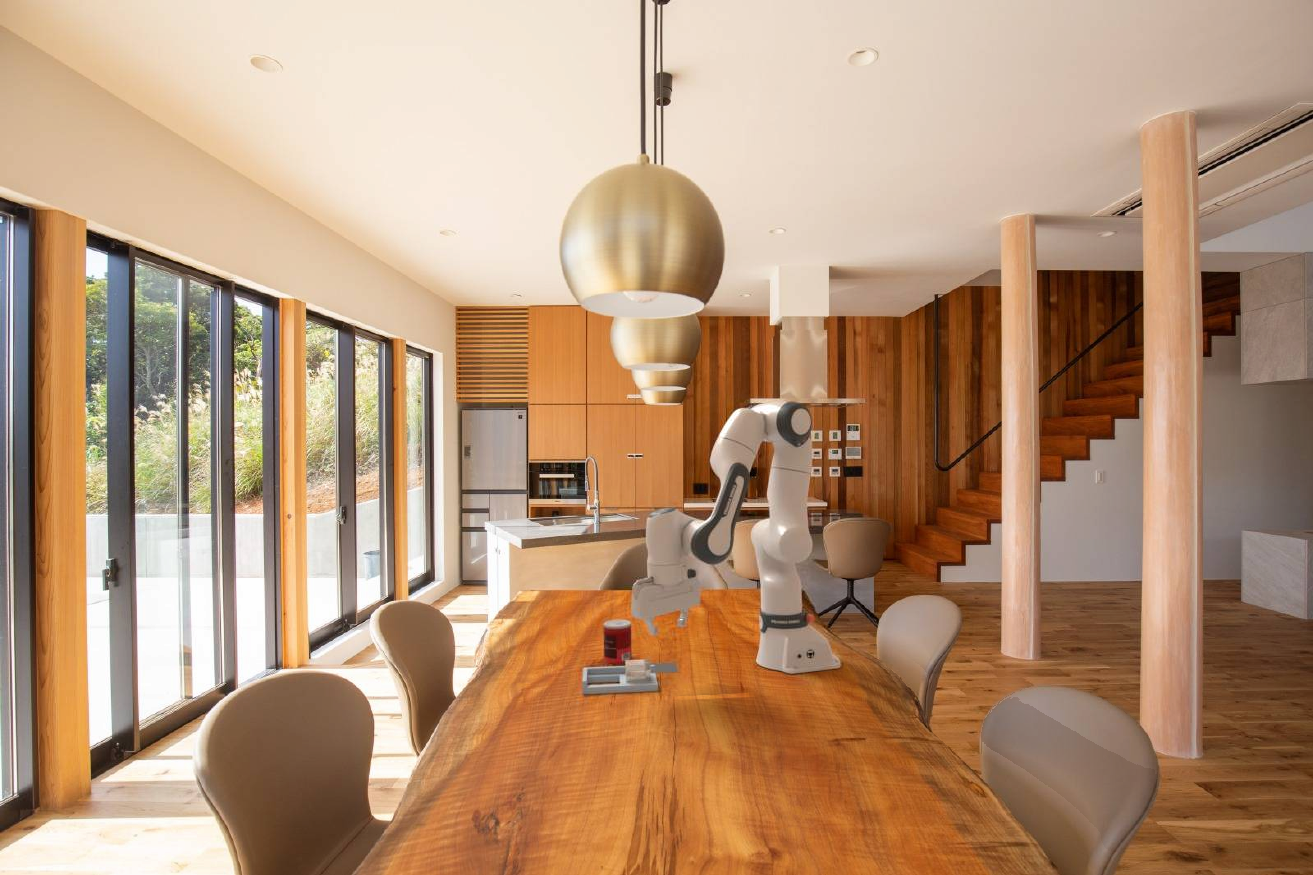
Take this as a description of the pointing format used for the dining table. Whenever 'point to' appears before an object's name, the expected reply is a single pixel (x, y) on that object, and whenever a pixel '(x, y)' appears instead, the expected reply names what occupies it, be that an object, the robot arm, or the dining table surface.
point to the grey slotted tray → (615, 676)
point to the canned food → (617, 641)
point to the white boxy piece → (637, 675)
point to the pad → (665, 667)
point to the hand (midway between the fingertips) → (667, 630)
